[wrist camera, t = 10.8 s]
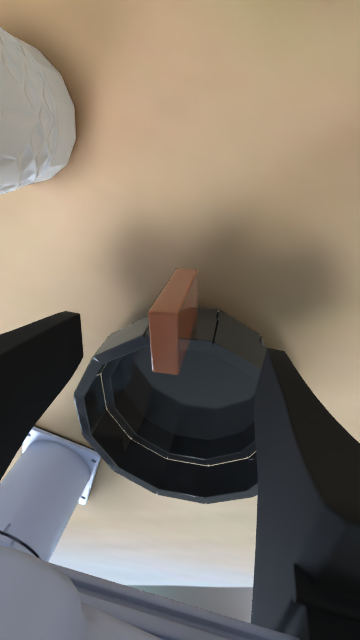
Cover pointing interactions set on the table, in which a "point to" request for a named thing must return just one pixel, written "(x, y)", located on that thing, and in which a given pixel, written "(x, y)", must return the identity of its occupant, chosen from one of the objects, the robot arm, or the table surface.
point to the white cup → (32, 116)
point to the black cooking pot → (177, 399)
